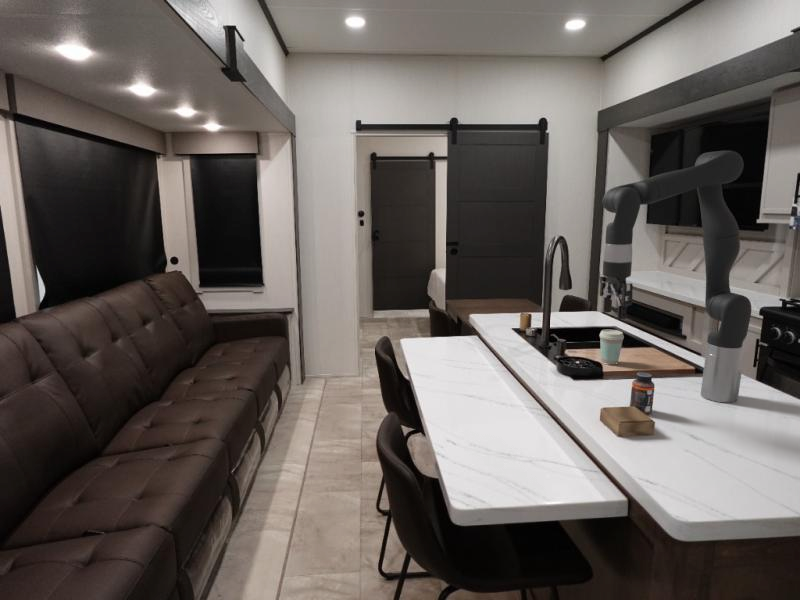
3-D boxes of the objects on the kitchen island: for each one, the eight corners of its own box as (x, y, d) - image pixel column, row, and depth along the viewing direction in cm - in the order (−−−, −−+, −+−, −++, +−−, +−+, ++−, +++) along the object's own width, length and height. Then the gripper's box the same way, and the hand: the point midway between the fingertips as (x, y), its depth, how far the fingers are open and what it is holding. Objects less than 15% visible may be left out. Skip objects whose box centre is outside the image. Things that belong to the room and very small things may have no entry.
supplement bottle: (654, 416, 152) (658, 378, 150) (631, 414, 153) (635, 377, 151) (648, 408, 158) (652, 371, 156) (627, 406, 159) (631, 370, 157)
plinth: (633, 419, 150) (634, 405, 149) (653, 434, 140) (655, 420, 140) (599, 420, 149) (600, 407, 148) (617, 436, 139) (619, 422, 138)
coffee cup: (623, 361, 201) (626, 331, 199) (619, 367, 194) (622, 336, 192) (599, 358, 206) (602, 327, 203) (594, 363, 198) (597, 332, 196)
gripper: (643, 262, 144) (639, 320, 147) (617, 256, 157) (614, 309, 161) (617, 263, 143) (613, 322, 146) (593, 256, 157) (590, 310, 160)
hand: (614, 315), depth 153 cm, fingers open, 8 cm apart
